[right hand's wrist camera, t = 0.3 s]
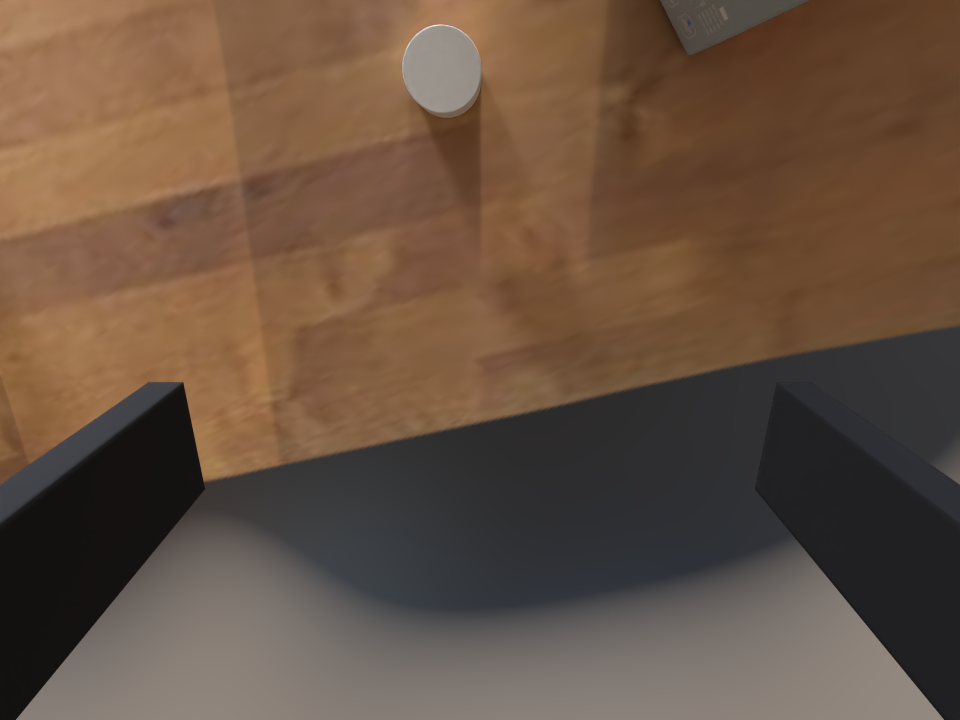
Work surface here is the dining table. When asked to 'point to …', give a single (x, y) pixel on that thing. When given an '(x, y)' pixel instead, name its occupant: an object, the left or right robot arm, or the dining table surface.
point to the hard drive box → (720, 19)
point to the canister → (442, 71)
